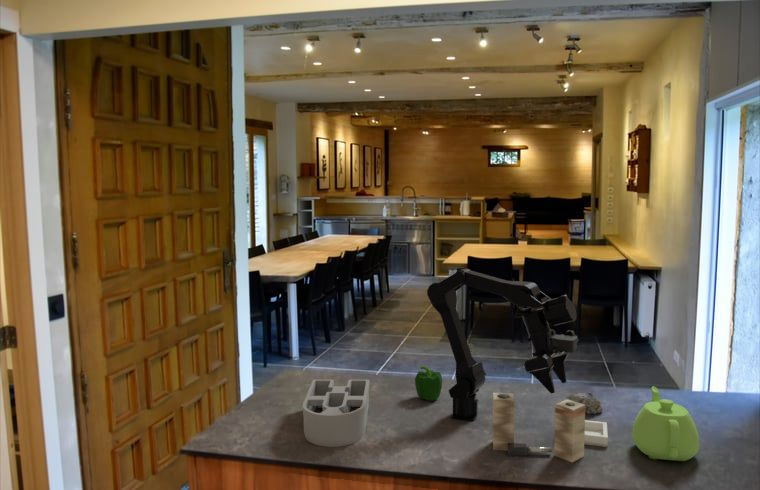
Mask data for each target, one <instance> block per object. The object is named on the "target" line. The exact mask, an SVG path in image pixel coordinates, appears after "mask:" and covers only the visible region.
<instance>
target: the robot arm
mask: <svg viewBox="0 0 760 490" xmlns="http://www.w3.org/2000/svg"><path fill="white" fill-rule="evenodd" d="M464 286H468V287H470V288H474V289H478V290H480V291H485V292H488V293H491V294H495V295H498V296H501V297H503V298H504V299H506V300H507V301H508V302H509V303H511V304H513V305H516V306H517V307H518V308H517V310H516V311H515V314H514V317H513V318H514V319H518V318H522V320H523V322H524V325H525V327H526V331H527V334H528V337H526V340H527V342H528V343H529V342H531V343H530V344H531V345H532V348H533V350H534V351H533V352H532V353H531V355H532V356H531V357H528V358H527V359H526V360H525V362H524V363H523V365H524V369H525V372H527V373H529V374H531V375H532V376H533V377H535V379H536V380H538V382H540V384H541V385H542V386H543V387H544V388H545V389H546V390H547V392H549V393H550V394H555V393H556V389H555V385H554V379H553V374H552V371H553V372H554V373H555V376H557V378H558V380H559V381H560V382H561V383H562V384H566V383H567V373H566V372H567V371H566V369H567V368H566V360H567V358H568V357H569V355H570V353H574V352H575V351H577V350H578V342H580V340H579V338H578V335H576V334H575V331H574V330H569V329H568V330H567V331H566V332H565V333H564V334H563V333H561V334H557V332H556V331H555V329H551V328H550V325H552V326H555V327H556V326H559V325H562V324H567V323H571V322H575V321H576V320H577V318H578V316H577V315H578V314H577V309H576V306H575V305H574V304H573V302H572V301H571V299H569V297H568V295H567V294H564V295H563V294H562V295H561V296H559V297H556V298H551V297H550V296H548V295H546V294H545V293H544V292H542V291H541V290H540V287H539V286H538V285H537V284H536V283H535V282H534V281H533V282H531V281H522V280H521V281H520V280H505V279H502V278H499V277H497V276H491V275H489V274H485V273H481V272H478V271H474V270H471V269H469V268H463V269H459V270H457V271H455V272H454V273H453V274H452V275H450V276H448V277H447V278H445V279H443V280H440V281H436V282H433V283H431V284H430V285H428V288H427V289H426V295H427V298H428V299H429V302H430V303H431V305H432V307H433V308H434V310H435V311H437V313H438V314H439V315H440V318H441V321H442V323H443V324H442V325H443V328H444V330H445V333H446V336H447V339H448V342H449V345H450V349H451V351H452V354H453V358H454V361H455V371H454V373H455V374H454V375H455V381H456V384H454V385H453V386H451V388H449V389H448V394H449V397H450V398H452V414H451V415H450V416H451V419H455V420H456V419H457V420H463V421H464V420H466V421H475V419H476V417H478V415H479V399H477V393H478V392H479V391H480V388H482V387H483V386H484V385H485V382H486V376H487V373H486V372H485V369H484V366H483V362H482V361H478V362H477V361H476V360H475V359H474V357H473V355H472V353H471V350H470V347H469V343H468V341H467V338H466V334H465V332H464V329H463V326H462V323H461V320H460V317H459V313H458V311H457V304H458V296H457V291H458V290H460V289H462V288H463V287H464Z"/></svg>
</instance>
